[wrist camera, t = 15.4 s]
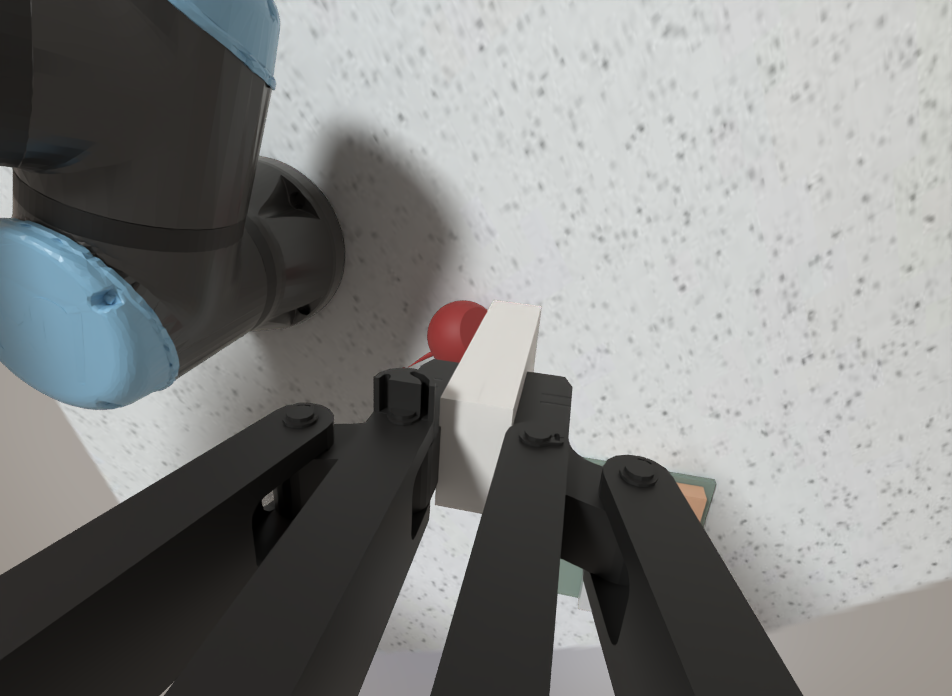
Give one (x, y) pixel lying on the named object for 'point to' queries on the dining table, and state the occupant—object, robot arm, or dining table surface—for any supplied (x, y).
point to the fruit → (453, 330)
